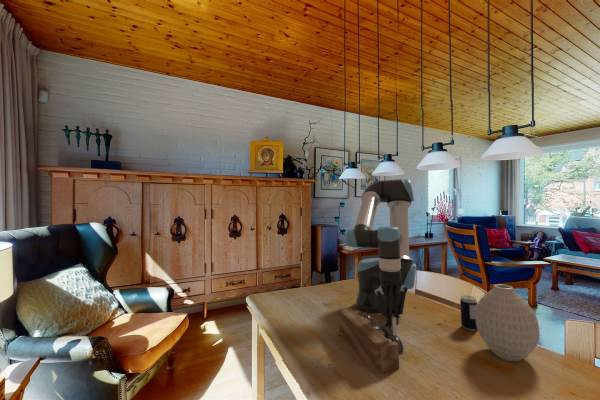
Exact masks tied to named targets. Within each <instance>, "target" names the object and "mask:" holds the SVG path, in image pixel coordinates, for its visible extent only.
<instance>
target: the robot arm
mask: <svg viewBox="0 0 600 400" xmlns="http://www.w3.org/2000/svg"><path fill="white" fill-rule="evenodd" d="M413 202H415V197H414V192H413V187H412V181H411V180H410V179H408V178H399V179H387V180H377V181H374V182H373V183H371V184H370V185H369V186H367V187H366V188H365V190H363V193H362V194H361V205H360V208H359V211H358V214H357V216H356V217H357V218H356V221H355V224H354V228H351V229H348V230H346V232H345V243H346V245H347V246H348V247H350V248H357V249H358V248H359V249H360V248H365V249H367V248H368V249H371V248H372V249H378V257H371V258H364V259H362V260H360V261H358V264H357V276H358V278H357V279H358V292H357V295H356V299H355V307H356V309H358V310H359V309H360V311H361V312H365V311H366V312H365V313H371V312H374V313H375V314H377V312H378V313H380V314H381V315H382V316H383V317H385V318H386V323H387V324H388V325H389V326H390V328H391V331H392V336H393V335H396V336H398V333H397V332H398V331H397V326H398V325H399V319H400V315H403V313H404V307H405V306H404V305H405V302H406V301H405V300H406V294H407V292H408V290H412V289H414V288H415V283H416V277H417V264H416V263H414V259H413V258H411V256H410V240H409V239H410V238H409V237H410V236H409V234H410V233H409V232H410V231H409V207H411V205H412V203H413ZM381 203H386V206H387V207H388V208H389V226H387V225H386V226H380V227H378V228H377V229H373V225H374V221H375V217H376V214H377V208H378V206H379V205H380V204H381Z"/></svg>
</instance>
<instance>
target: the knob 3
mask: <svg viewBox="0 0 600 400" xmlns="http://www.w3.org/2000/svg"><path fill="white" fill-rule="evenodd" d="M388 340H389V342H394V341H395V342H396V343H397V344H398V349H399V356H402V355H403V354H404V346H403V345H404V344H403V342H402V340H401V338H400V337H399V336H398V335H397V336H396V335H393V336H389V337H388Z"/></svg>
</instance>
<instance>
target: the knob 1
mask: <svg viewBox="0 0 600 400" xmlns="http://www.w3.org/2000/svg"><path fill="white" fill-rule="evenodd" d="M360 316H361V317H362V318H367V319H368V320H369V321H370V322H371V326H374V322H373V317H372V316H371V315H370V314H369V313H363V314H362V315H360Z"/></svg>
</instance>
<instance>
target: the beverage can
mask: <svg viewBox="0 0 600 400" xmlns="http://www.w3.org/2000/svg"><path fill="white" fill-rule="evenodd" d="M459 302H460V318H461V319H460V321H461V326H462V327H463V328H464V329H465V330H468V331H472V332H473V331H476V330H478V329H477V326H476V321H475V312H476V307H477V304H478V301H477V298H476V297H474V296H472V295H471V296H470V295H461V296H460V299H459Z"/></svg>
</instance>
